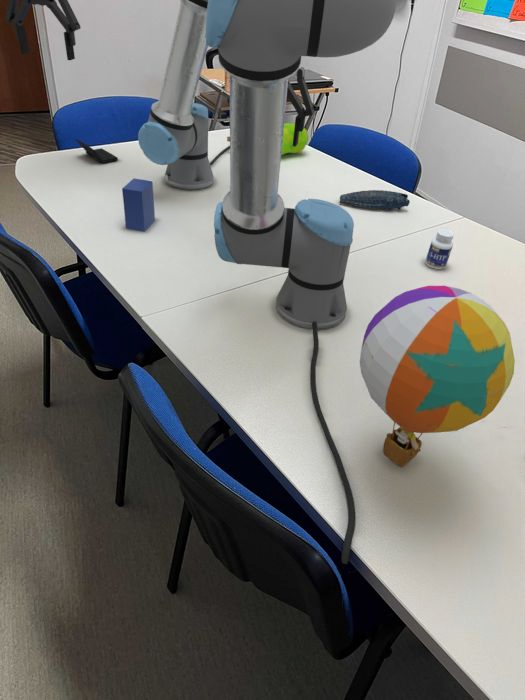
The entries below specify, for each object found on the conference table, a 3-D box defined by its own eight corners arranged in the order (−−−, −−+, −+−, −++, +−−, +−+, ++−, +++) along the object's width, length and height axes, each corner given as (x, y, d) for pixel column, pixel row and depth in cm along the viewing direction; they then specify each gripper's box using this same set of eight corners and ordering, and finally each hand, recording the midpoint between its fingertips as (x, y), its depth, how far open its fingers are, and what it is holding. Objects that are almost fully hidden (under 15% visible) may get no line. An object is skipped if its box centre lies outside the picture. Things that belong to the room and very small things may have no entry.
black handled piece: (122, 153, 174) (102, 132, 166) (111, 171, 173) (90, 150, 165) (101, 149, 181) (81, 128, 172) (90, 166, 179) (69, 146, 171)
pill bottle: (423, 266, 132) (433, 234, 126) (426, 257, 136) (435, 226, 130) (444, 271, 131) (455, 239, 125) (446, 262, 135) (457, 230, 129)
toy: (310, 447, 82) (343, 285, 63) (387, 396, 93) (435, 245, 74) (411, 535, 71) (486, 371, 52) (485, 466, 82) (569, 309, 63)
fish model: (408, 214, 157) (412, 198, 153) (339, 207, 158) (341, 191, 154) (406, 206, 162) (410, 190, 159) (339, 199, 163) (341, 183, 160)
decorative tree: (224, 117, 189) (303, 117, 195) (224, 146, 196) (301, 145, 201) (231, 131, 176) (316, 130, 181) (230, 162, 182) (313, 160, 188)
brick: (155, 220, 142) (152, 181, 135) (144, 231, 136) (141, 191, 129) (137, 217, 142) (133, 178, 135) (125, 228, 136) (121, 188, 130)
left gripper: (86, -36, 131) (96, 59, 144) (-5, -45, 134) (14, 48, 147) (71, -35, 125) (84, 64, 139) (-23, -45, 128) (-2, 53, 141)
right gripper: (335, 44, 113) (321, 143, 126) (226, 30, 117) (223, 128, 130) (329, 49, 107) (315, 153, 121) (215, 34, 111) (213, 136, 124)
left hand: (48, 56), depth 143 cm, fingers open, 13 cm apart
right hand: (267, 140), depth 125 cm, fingers open, 13 cm apart
